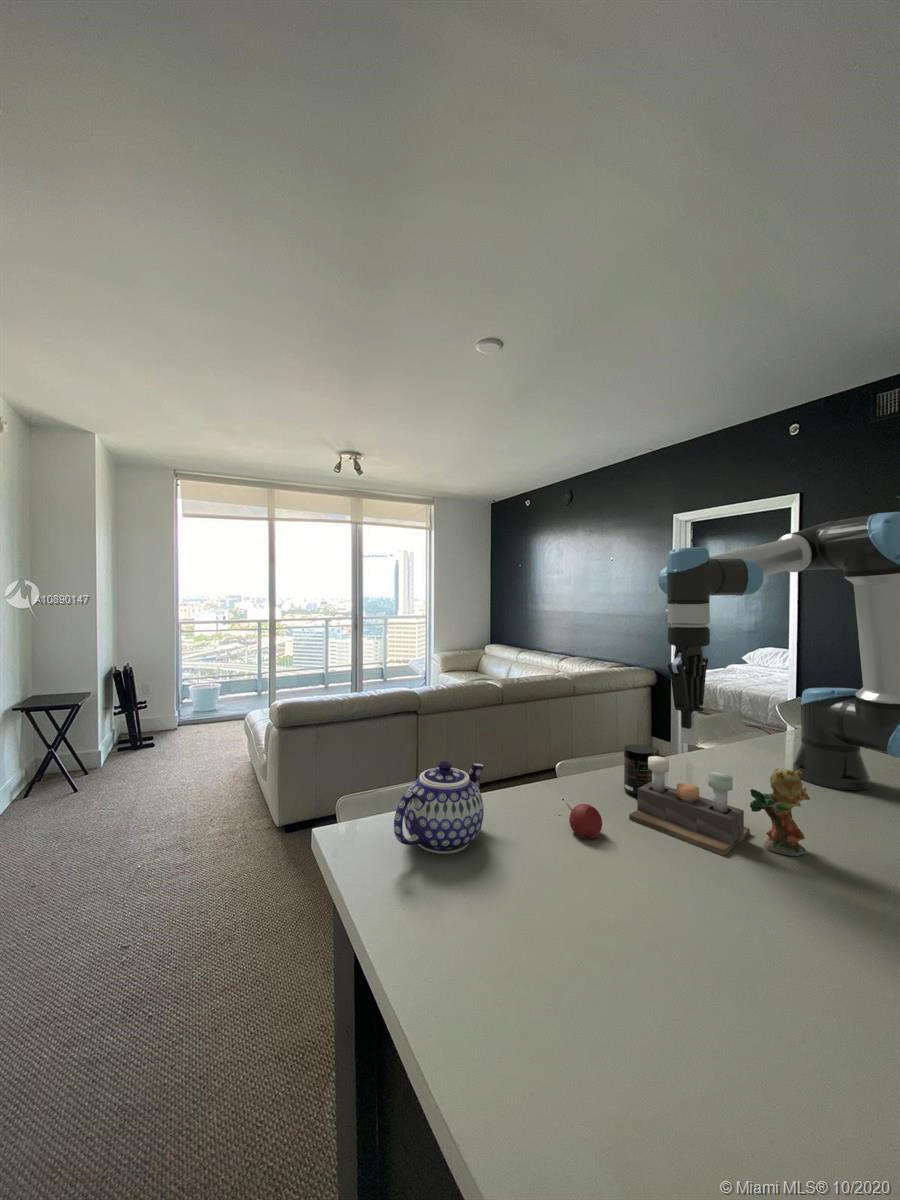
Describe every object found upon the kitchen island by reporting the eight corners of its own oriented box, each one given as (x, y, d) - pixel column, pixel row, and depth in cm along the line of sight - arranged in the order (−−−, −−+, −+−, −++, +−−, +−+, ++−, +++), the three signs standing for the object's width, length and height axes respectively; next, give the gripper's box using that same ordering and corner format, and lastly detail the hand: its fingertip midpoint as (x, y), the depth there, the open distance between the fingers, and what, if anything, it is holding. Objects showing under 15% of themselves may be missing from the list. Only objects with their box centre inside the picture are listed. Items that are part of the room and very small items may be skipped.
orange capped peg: (682, 813, 97) (682, 781, 97) (702, 820, 94) (702, 787, 94) (672, 818, 94) (673, 786, 94) (693, 826, 91) (693, 792, 91)
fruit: (588, 835, 94) (571, 794, 97) (610, 830, 90) (592, 788, 93) (569, 845, 90) (552, 802, 93) (591, 841, 86) (573, 796, 90)
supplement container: (661, 795, 109) (661, 750, 109) (641, 801, 105) (642, 755, 105) (636, 785, 115) (636, 742, 115) (617, 791, 111) (617, 747, 111)
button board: (658, 802, 105) (659, 778, 105) (749, 833, 91) (750, 805, 91) (629, 819, 97) (629, 792, 97) (723, 856, 83) (724, 824, 83)
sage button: (713, 803, 92) (713, 770, 92) (735, 810, 89) (735, 776, 89) (704, 809, 90) (704, 775, 90) (727, 817, 86) (727, 781, 86)
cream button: (653, 785, 101) (654, 754, 101) (672, 790, 98) (672, 759, 98) (644, 789, 99) (644, 758, 99) (663, 795, 96) (663, 764, 96)
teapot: (425, 887, 74) (425, 793, 74) (365, 852, 84) (365, 770, 84) (514, 828, 93) (514, 753, 93) (457, 806, 103) (457, 738, 102)
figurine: (803, 844, 87) (803, 763, 87) (814, 864, 80) (815, 777, 80) (745, 833, 91) (745, 756, 91) (751, 852, 84) (752, 768, 84)
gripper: (684, 623, 101) (685, 733, 101) (653, 626, 93) (655, 745, 93) (721, 624, 95) (722, 741, 95) (693, 627, 87) (694, 755, 87)
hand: (689, 743), depth 94 cm, fingers closed
